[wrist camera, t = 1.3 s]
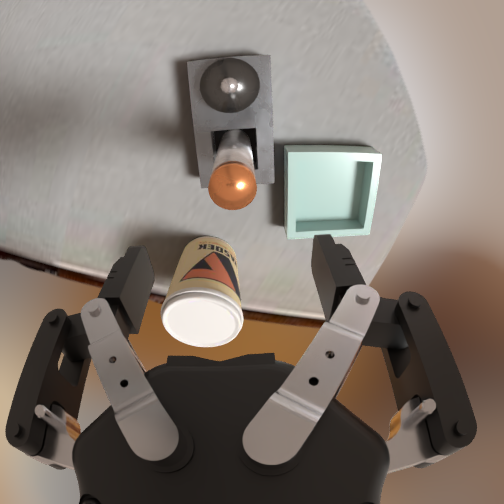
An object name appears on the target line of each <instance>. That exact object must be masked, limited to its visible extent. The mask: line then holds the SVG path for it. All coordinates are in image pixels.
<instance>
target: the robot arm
mask: <svg viewBox="0 0 504 504" xmlns="http://www.w3.org/2000/svg"><path fill="white" fill-rule="evenodd" d="M311 267H312V274H313V277H314V281H315V284H316V287H317V291H318V294H319V297H320V301H321V304H322V308H323V311H324V315H325V318H326V322H325V323H324V324H323V325H322V327H321V329H320V330H319V332H318V333H317V335H316V337H315V338H314V339H313V341H312V343H311V344H310V346H309V347H308V349H307V350H306V352H305V353H304V355H303V356H302V358H301V359H300V360H299V362H298V363H297V365H296V366H293V365H291V364H288V363H286V362H282V361H276V360H275V355H274V353H264V354H248V355H244V356H240V357H236V358H232V359H228V360H224V361H213V360H209V359H204V358H200V357H195V356H168V358H167V363H166V364H162V365H159V366H157V367H154V368H152V369H151V370H149V371H147V372H146V370H145V368H144V367H143V365H142V363H141V362H140V360H139V358H138V356H137V354H136V353H135V351H134V349H133V347H132V345H131V343H130V342H129V340H128V337H129V334H138V333H139V329H140V326H141V322H142V319H143V315H144V312H145V309H146V305H147V302H148V299H149V296H150V292H151V289H152V286H153V283H154V271H153V268H152V265H151V262H150V259H149V256H148V252H147V249H146V247H145V246H131V247H129V248H128V250H127V252H126V254H125V256H124V257H121V258H120V259H119V260H118V261H117V262H116V263H115V264H114V265H113V267H112V269H111V271H110V273H109V275H108V277H107V279H106V281H105V283H104V285H103V287H102V289H101V291H100V293H99V296H98V298H96V299H93V300H91V301H89V302H87V303H86V304H85V305H84V307H83V308H82V310H81V313H78V314H74V315H70V316H67V314H66V312H65V311H64V310H63V309H55V310H52V311H51V312H49V313H48V314H47V315H46V316H45V318H44V319H43V322H42V324H41V326H40V328H39V330H38V333H37V335H36V338H35V340H34V342H33V344H32V347H31V349H30V352H29V354H28V357H27V360H26V362H25V365H24V368H23V371H22V373H21V377H20V379H19V382H18V385H17V388H16V391H15V395H14V398H13V401H12V405H11V409H10V412H9V416H8V420H7V424H6V438H7V440H8V442H9V443H10V444H11V445H12V446H13V447H15V448H17V449H19V450H20V451H22V452H24V453H25V454H26V455H28V456H30V457H32V458H33V459H35V460H37V461H39V462H41V463H43V464H46V465H49V466H52V467H54V468H56V469H65V468H69V469H73V470H75V473H76V476H77V480H78V484H79V490H80V502H79V504H380V498H381V492H382V487H383V484H384V481H385V478H386V475H387V473H391V472H395V471H398V470H402V469H405V468H408V467H411V466H414V467H417V468H424V467H427V466H429V465H431V464H433V463H435V462H437V461H440V460H442V459H444V458H445V457H447V456H449V455H451V454H453V453H455V452H456V451H458V450H460V449H462V448H464V447H465V446H467V445H469V444H470V443H471V442H472V440H473V439H474V437H475V435H476V431H477V424H476V420H475V416H474V413H473V410H472V407H471V404H470V401H469V398H468V395H467V392H466V389H465V386H464V383H463V381H462V378H461V375H460V373H459V370H458V368H457V365H456V363H455V361H454V358H453V356H452V353H451V351H450V348H449V346H448V344H447V342H446V339H445V337H444V335H443V333H442V331H441V328H440V326H439V324H438V322H437V320H436V318H435V316H434V314H433V312H432V310H431V308H430V306H429V304H428V302H427V300H426V299H425V298H424V297H423V296H421V295H420V294H418V293H415V292H405V293H403V294H401V295H400V297H399V299H398V300H394V299H386V298H382V297H379V294H378V293H377V291H375V290H374V289H373V288H371V287H370V286H367V285H366V284H365V281H364V279H363V277H362V275H361V273H360V271H359V269H358V267H357V265H356V263H355V261H354V259H353V257H352V255H351V253H350V251H349V250H348V249H347V248H346V247H345V246H343V245H342V244H335V242H334V240H333V238H332V236H331V234H320V235H314V239H313V250H312V261H311ZM362 345H365V346H373V347H381V349H382V352H383V356H384V359H385V362H386V366H387V370H388V373H389V377H390V380H391V384H392V388H393V392H394V396H395V400H396V404H397V408H398V412H397V413H396V414H395V415H394V416H393V417H392V419H391V421H390V426H389V427H390V434H389V437H388V439H387V441H386V442H385V441H384V439H383V438H382V437H381V436H380V435H379V434H378V433H377V432H376V431H374V430H373V429H372V428H371V427H369V426H368V425H367V424H366V423H364V422H363V421H362V420H361V419H360V418H358V417H357V416H356V415H354V414H353V413H352V412H351V411H349V410H348V409H347V408H346V407H345V406H344V405H342V404H341V403H340V402H339V401H338V400H336V397H337V395H338V393H339V391H340V389H341V388H342V386H343V384H344V382H345V380H346V378H347V376H348V374H349V372H350V370H351V367H352V366H353V364H354V362H355V360H356V358H357V356H358V354H359V352H360V349H361V347H362ZM61 352H62V353H63V354H64V357H63V360H62V363H61V366H60V369H59V370H58V361H59V358H60V355H61ZM91 358H92V360H93V363H94V366H95V368H96V370H97V373H98V376H99V378H100V381H101V383H102V385H103V388H104V390H105V392H106V394H107V397H108V399H109V401H110V403H111V406H110V407H109V408H107V409H106V410H105V411H104V412H103V413H102V414H101V415H100V416H99V417H98V418H97V419H96V420H95V421H94V422H93V423H91V424H90V426H88V427H87V428H86V429H85V430H84V431H83V432H82V433H81V428H80V424H79V423H78V421H77V418H78V413H79V408H80V403H81V399H82V394H83V390H84V386H85V381H86V377H87V373H88V370H89V366H90V362H91Z"/></svg>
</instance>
